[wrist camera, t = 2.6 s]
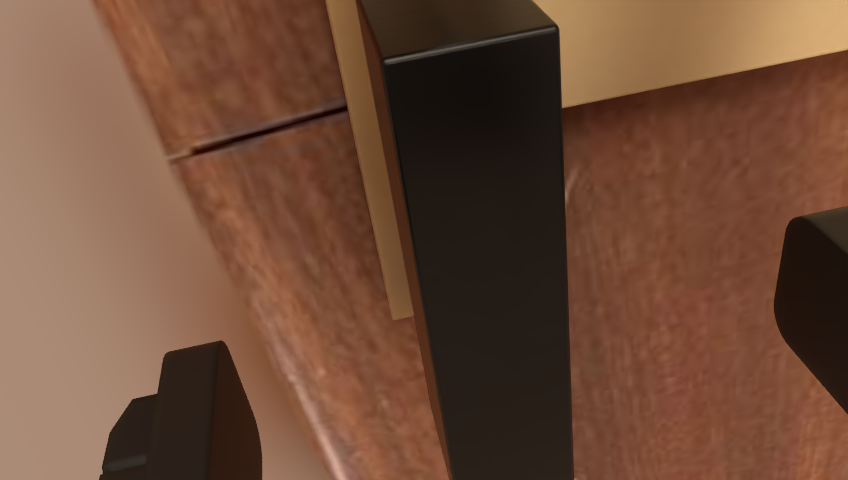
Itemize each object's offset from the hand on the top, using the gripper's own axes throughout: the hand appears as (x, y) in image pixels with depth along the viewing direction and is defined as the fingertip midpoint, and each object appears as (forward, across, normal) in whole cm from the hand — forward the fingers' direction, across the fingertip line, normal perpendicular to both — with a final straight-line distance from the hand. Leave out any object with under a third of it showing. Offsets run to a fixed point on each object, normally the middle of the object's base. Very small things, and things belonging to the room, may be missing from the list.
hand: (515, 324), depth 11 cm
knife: (+5, 0, -4) cm, 7 cm away
